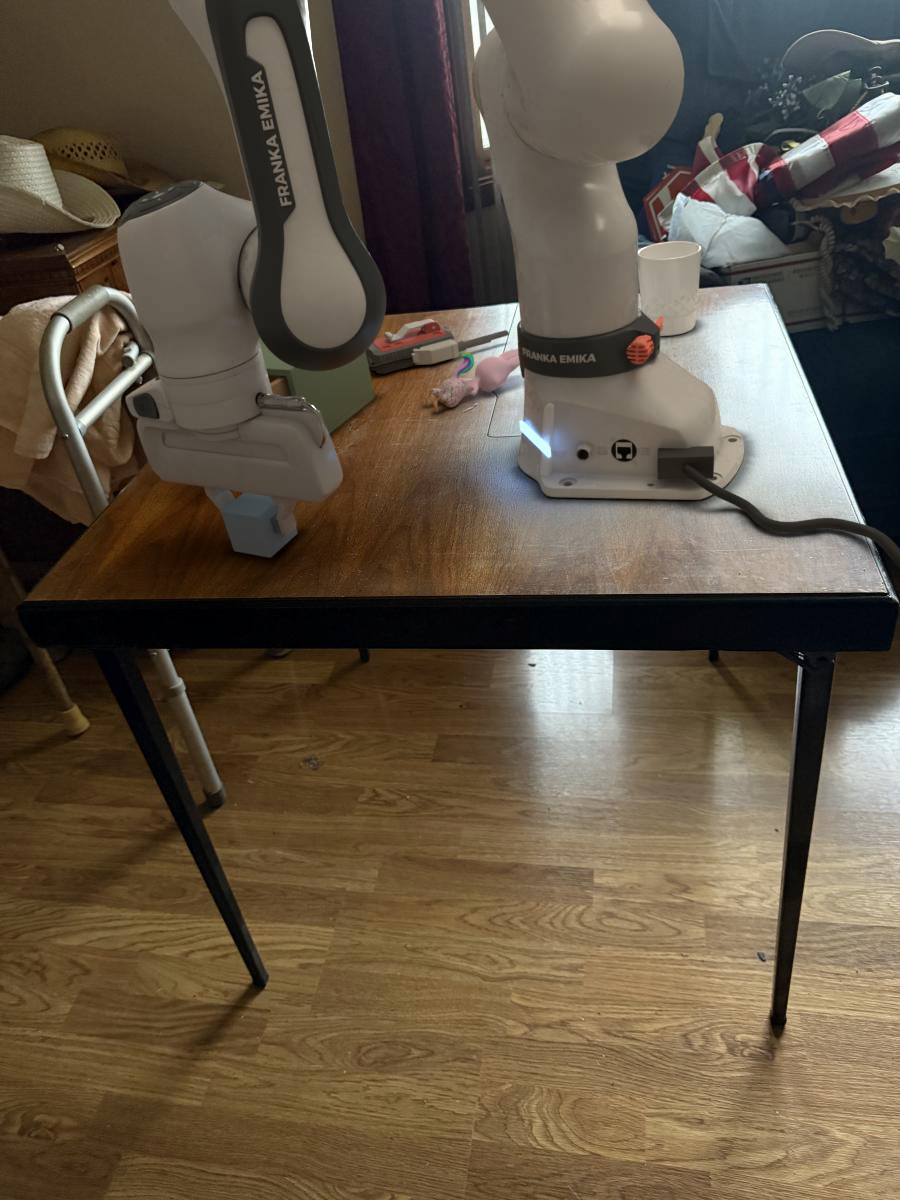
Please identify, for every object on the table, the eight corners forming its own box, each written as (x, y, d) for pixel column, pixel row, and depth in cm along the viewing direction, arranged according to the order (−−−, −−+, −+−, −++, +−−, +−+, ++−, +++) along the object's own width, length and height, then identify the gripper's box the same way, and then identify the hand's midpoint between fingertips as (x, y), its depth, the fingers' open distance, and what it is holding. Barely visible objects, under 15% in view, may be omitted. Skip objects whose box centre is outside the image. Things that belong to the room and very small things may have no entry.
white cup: (652, 342, 113) (651, 263, 108) (629, 324, 120) (628, 248, 114) (709, 330, 114) (712, 250, 108) (684, 313, 120) (685, 237, 115)
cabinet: (310, 449, 101) (289, 369, 96) (226, 440, 107) (202, 364, 101) (375, 397, 111) (360, 323, 106) (295, 391, 117) (277, 320, 111)
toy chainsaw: (376, 383, 115) (512, 344, 120) (369, 350, 112) (509, 312, 117) (356, 364, 122) (486, 328, 127) (350, 333, 119) (483, 297, 124)
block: (298, 533, 85) (286, 493, 83) (270, 558, 82) (257, 517, 80) (261, 527, 87) (249, 487, 85) (233, 551, 84) (220, 511, 82)
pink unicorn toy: (446, 427, 104) (551, 372, 107) (431, 383, 100) (540, 327, 103) (424, 411, 109) (525, 359, 111) (409, 368, 105) (514, 315, 108)
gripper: (337, 382, 73) (369, 524, 81) (159, 370, 82) (203, 498, 90) (293, 414, 69) (332, 560, 77) (110, 398, 78) (161, 530, 86)
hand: (261, 527), depth 84 cm, fingers closed on block, 4 cm apart
